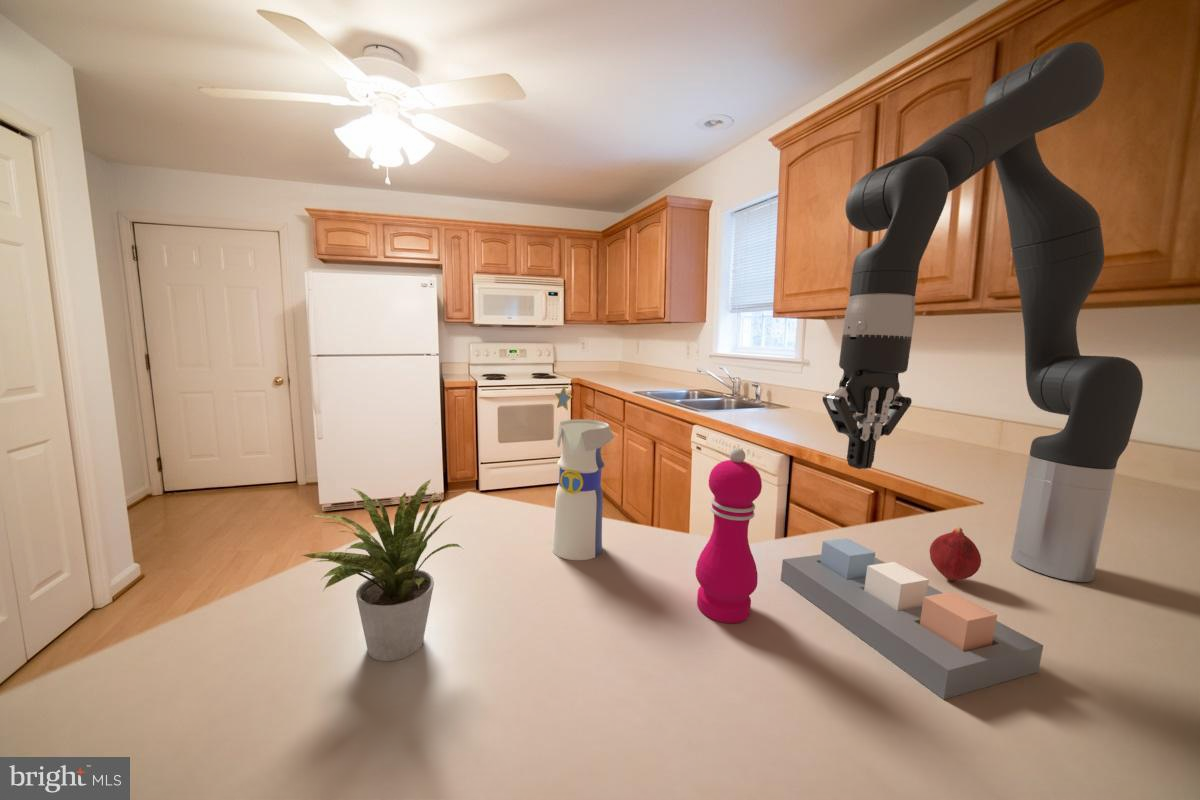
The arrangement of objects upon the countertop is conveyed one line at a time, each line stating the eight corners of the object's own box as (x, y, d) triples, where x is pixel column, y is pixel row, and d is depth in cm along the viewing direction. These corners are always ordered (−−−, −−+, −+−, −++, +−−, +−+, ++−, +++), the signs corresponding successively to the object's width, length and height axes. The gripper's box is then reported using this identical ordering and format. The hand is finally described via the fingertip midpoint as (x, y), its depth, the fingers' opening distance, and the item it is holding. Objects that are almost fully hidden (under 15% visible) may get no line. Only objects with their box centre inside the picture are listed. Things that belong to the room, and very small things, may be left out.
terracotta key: (946, 624, 51) (952, 591, 50) (990, 650, 47) (997, 614, 46) (918, 630, 50) (923, 596, 49) (961, 658, 45) (967, 620, 45)
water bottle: (594, 567, 64) (604, 390, 61) (540, 554, 67) (546, 385, 63) (613, 544, 71) (622, 386, 68) (563, 533, 74) (570, 381, 71)
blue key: (844, 565, 64) (847, 538, 64) (871, 581, 60) (875, 552, 59) (819, 568, 63) (822, 541, 62) (845, 585, 59) (849, 555, 58)
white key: (889, 591, 58) (893, 561, 57) (923, 611, 53) (928, 579, 53) (863, 596, 56) (867, 565, 56) (896, 617, 52) (901, 584, 52)
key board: (857, 568, 68) (859, 549, 67) (1038, 671, 47) (1043, 645, 47) (780, 579, 63) (782, 559, 63) (943, 699, 42) (948, 670, 42)
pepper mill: (754, 599, 58) (770, 445, 55) (753, 633, 51) (772, 459, 48) (696, 587, 60) (709, 438, 57) (688, 617, 53) (703, 450, 51)
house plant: (358, 596, 54) (356, 462, 52) (477, 598, 55) (480, 466, 53) (282, 687, 40) (275, 507, 38) (443, 688, 41) (445, 512, 38)
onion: (986, 594, 62) (995, 538, 61) (938, 587, 63) (947, 533, 62) (961, 573, 68) (970, 522, 67) (918, 568, 69) (926, 517, 68)
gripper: (888, 336, 63) (871, 458, 65) (811, 330, 59) (797, 461, 61) (944, 336, 56) (923, 473, 58) (862, 330, 52) (843, 478, 54)
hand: (858, 467), depth 59 cm, fingers closed
